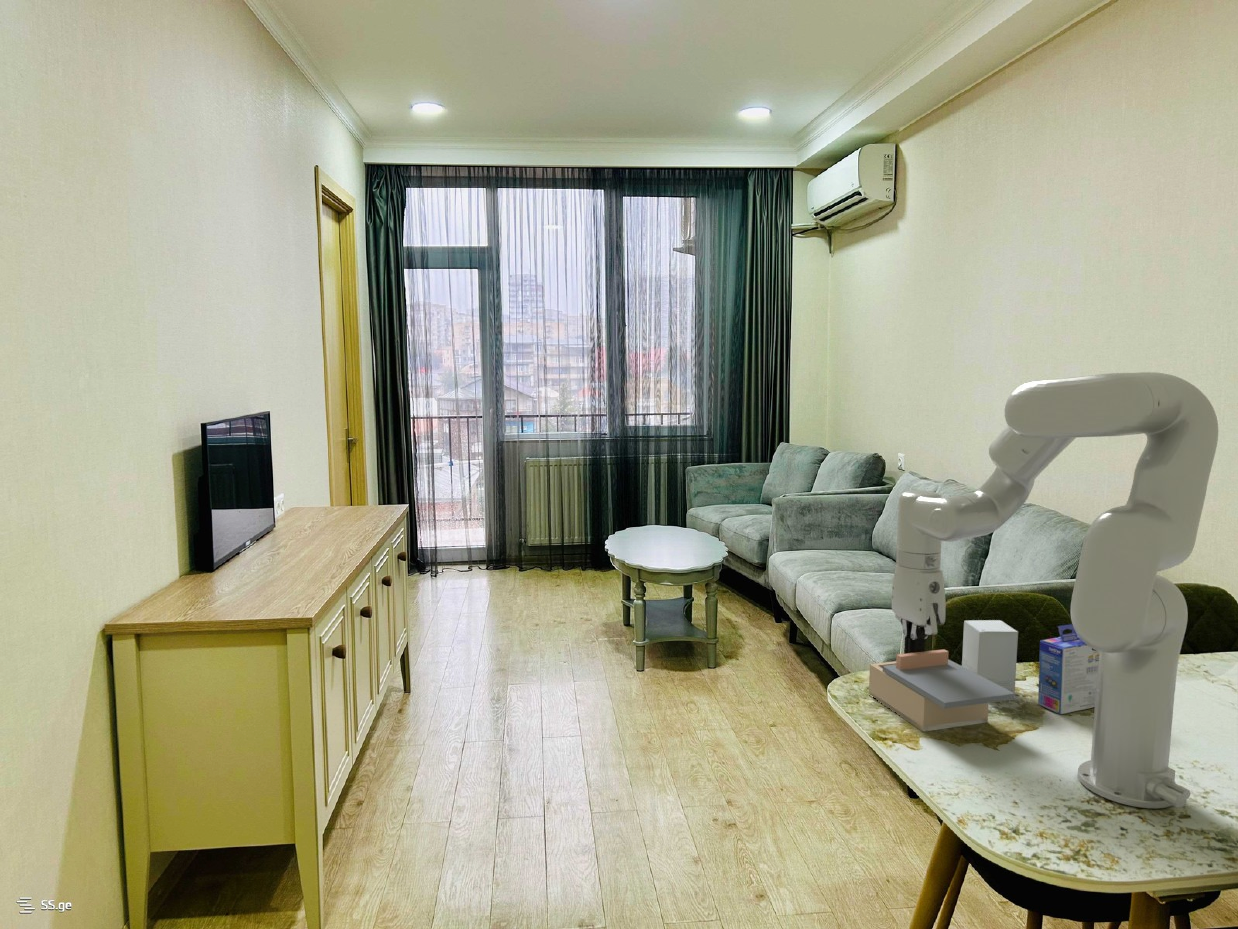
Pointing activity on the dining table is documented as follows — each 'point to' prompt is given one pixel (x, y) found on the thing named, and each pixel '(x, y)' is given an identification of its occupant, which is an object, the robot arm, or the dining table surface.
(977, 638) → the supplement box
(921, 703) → the box
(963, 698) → the lid
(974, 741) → the dining table surface
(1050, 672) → the ink cartridge box
